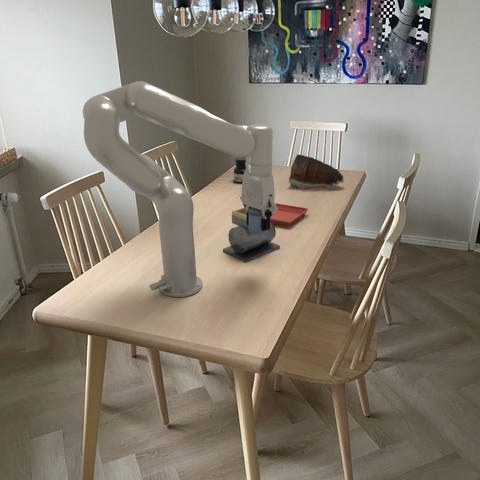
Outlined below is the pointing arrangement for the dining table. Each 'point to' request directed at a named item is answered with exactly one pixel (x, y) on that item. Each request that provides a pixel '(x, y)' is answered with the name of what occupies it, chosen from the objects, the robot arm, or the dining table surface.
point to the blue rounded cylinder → (255, 221)
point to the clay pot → (313, 173)
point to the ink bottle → (239, 169)
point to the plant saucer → (287, 214)
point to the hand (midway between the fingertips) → (258, 226)
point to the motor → (248, 239)
